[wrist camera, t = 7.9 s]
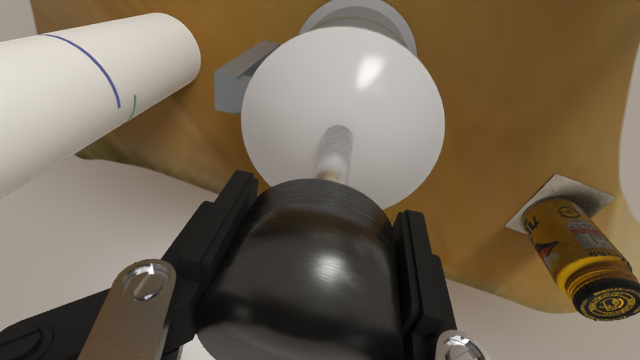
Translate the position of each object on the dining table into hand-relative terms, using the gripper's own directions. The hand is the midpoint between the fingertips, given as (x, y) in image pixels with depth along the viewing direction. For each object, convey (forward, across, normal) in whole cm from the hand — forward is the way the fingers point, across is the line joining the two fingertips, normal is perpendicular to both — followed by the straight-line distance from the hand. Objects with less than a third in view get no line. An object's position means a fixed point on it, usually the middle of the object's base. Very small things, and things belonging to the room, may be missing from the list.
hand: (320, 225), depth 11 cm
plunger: (+7, 0, 0) cm, 7 cm away
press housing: (+23, +1, 0) cm, 23 cm away
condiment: (+24, -27, +11) cm, 37 cm away
